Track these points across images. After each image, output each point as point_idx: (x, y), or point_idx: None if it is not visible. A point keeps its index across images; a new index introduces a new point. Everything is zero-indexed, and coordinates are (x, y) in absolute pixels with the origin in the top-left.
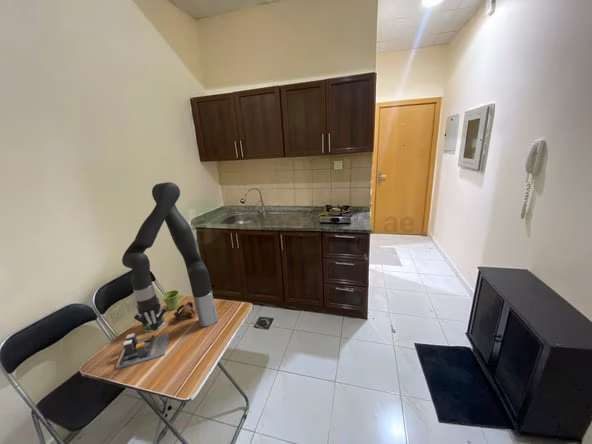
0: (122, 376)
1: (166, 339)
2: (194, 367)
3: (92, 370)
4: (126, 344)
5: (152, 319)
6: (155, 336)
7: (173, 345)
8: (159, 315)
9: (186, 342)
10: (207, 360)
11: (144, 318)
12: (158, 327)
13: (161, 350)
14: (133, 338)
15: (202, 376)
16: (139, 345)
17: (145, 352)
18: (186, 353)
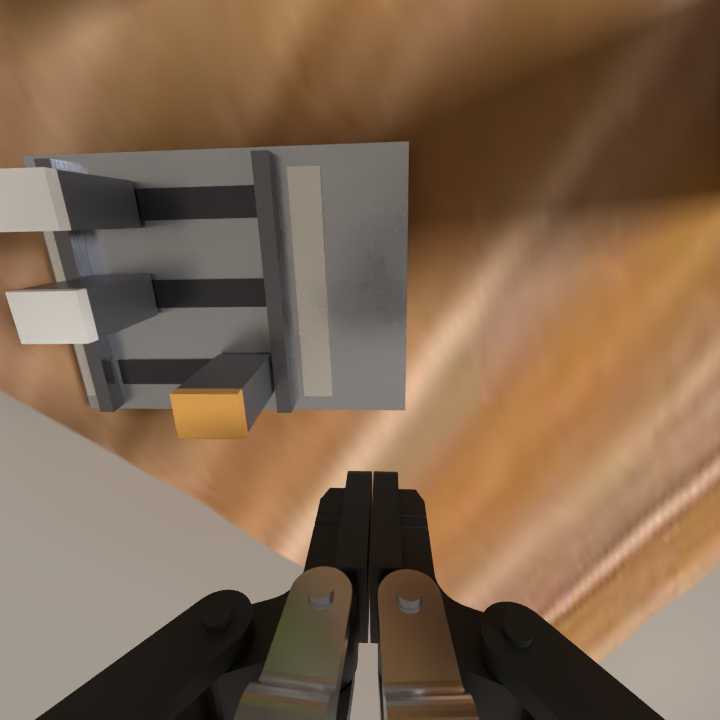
0: (177, 470)
1: (402, 256)
2: (589, 574)
3: None
4: (57, 341)
5: (345, 632)
6: (282, 150)
7: (457, 323)
8: (537, 709)
9: (560, 333)
10: (672, 559)
11: (152, 715)
12: None
13: (380, 383)
14: (78, 229)
15: (621, 638)
16: (207, 428)
17: (267, 401)
18: (552, 450)
